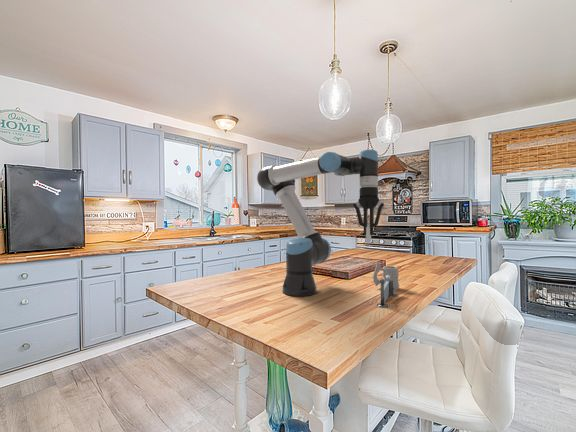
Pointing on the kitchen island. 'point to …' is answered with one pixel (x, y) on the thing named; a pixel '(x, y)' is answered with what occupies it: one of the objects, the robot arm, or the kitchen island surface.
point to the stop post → (392, 289)
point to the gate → (386, 288)
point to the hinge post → (382, 295)
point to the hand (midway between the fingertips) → (368, 242)
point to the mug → (388, 271)
